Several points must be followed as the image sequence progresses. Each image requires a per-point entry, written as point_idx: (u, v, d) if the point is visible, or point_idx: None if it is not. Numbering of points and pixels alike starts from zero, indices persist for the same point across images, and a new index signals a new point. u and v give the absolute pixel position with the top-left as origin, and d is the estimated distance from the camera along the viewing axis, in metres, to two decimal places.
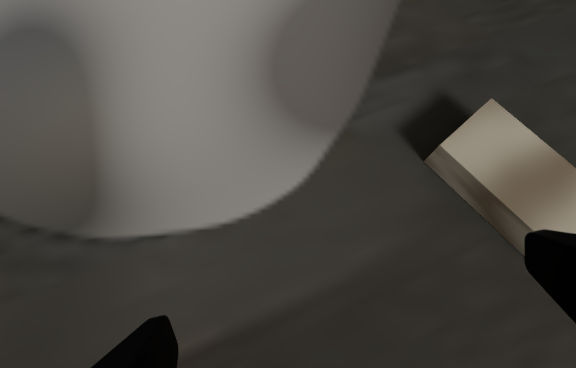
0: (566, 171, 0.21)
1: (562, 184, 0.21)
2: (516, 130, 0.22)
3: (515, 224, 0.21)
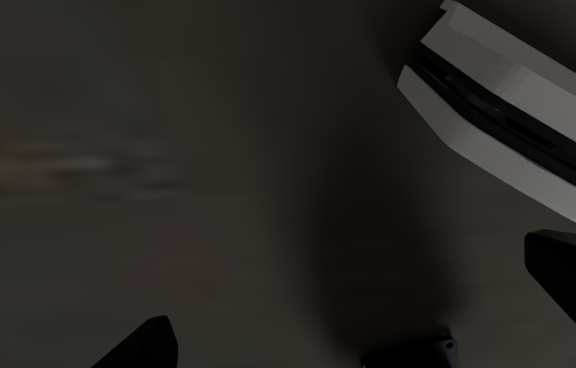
0: None
1: None
2: None
3: None
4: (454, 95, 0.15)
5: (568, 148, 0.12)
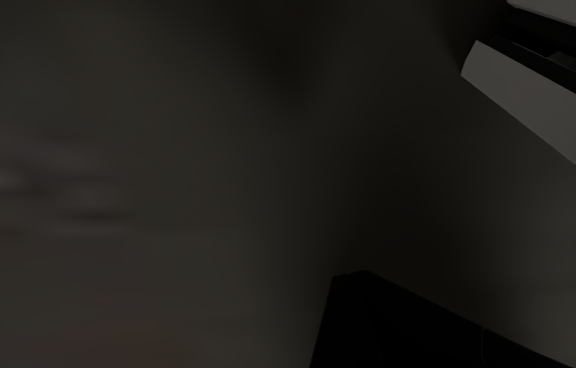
0: None
1: None
2: None
3: None
4: None
5: None
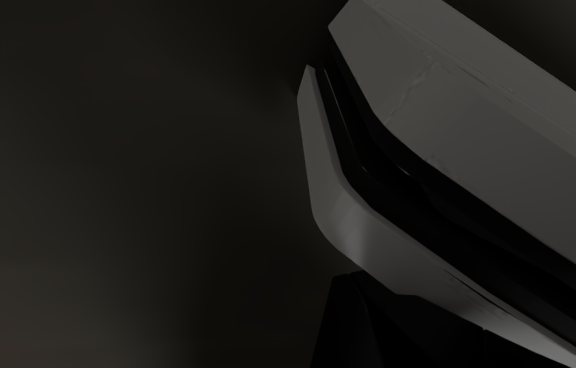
0: None
1: None
2: None
3: None
4: (346, 127, 0.08)
5: (557, 270, 0.06)
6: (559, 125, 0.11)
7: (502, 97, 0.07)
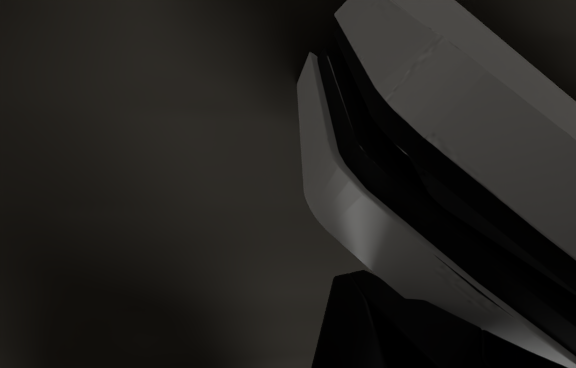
0: None
1: None
2: None
3: None
4: (345, 109, 0.07)
5: (551, 263, 0.05)
6: None
7: None
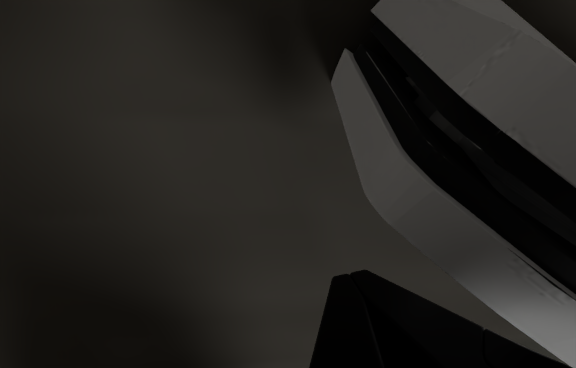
0: None
1: None
2: None
3: None
4: (401, 105, 0.07)
5: None
6: None
7: None
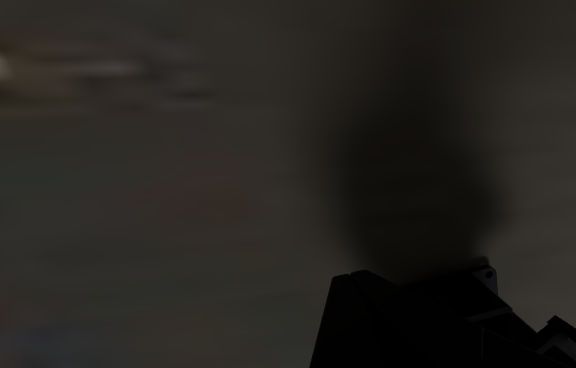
0: None
1: None
2: None
3: None
4: None
5: None
6: None
7: None
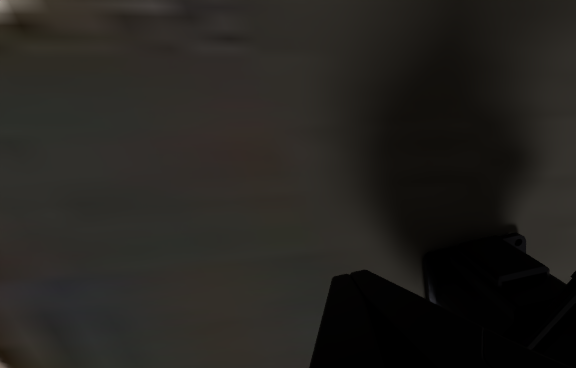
0: None
1: None
2: None
3: None
4: None
5: None
6: None
7: None
